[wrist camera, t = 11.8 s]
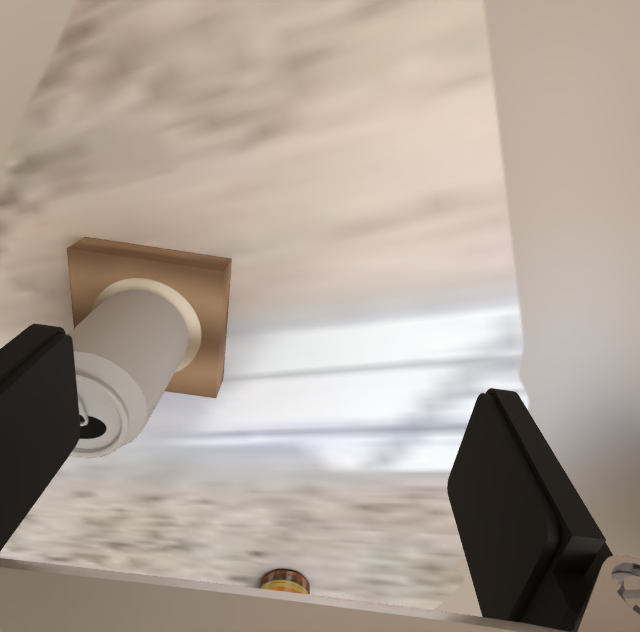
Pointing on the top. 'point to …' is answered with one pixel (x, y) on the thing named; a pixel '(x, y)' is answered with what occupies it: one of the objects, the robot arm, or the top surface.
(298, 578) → the sauce bottle
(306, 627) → the robot arm
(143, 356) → the can
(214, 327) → the base
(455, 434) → the top surface
